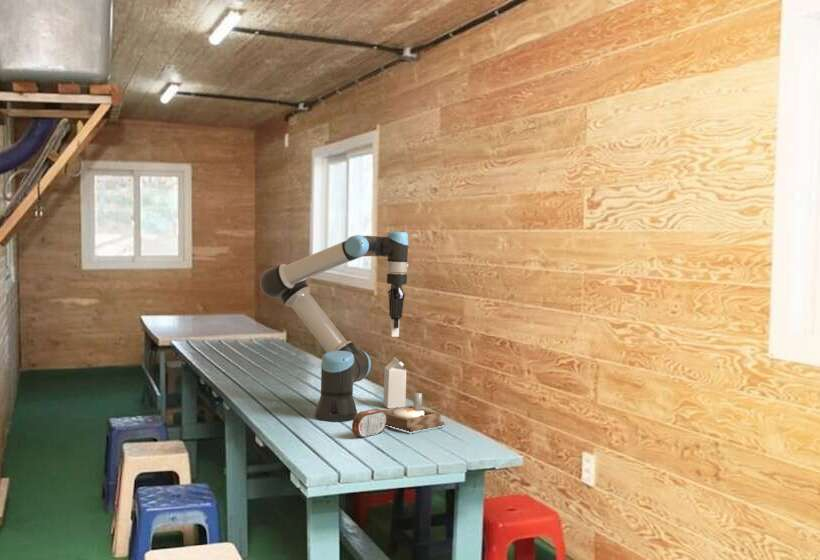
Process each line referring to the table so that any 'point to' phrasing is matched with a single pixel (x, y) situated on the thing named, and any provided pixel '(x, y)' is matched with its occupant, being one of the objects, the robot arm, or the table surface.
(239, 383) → the table surface
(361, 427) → the tin
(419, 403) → the dial
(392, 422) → the wooden tray
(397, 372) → the milk carton
